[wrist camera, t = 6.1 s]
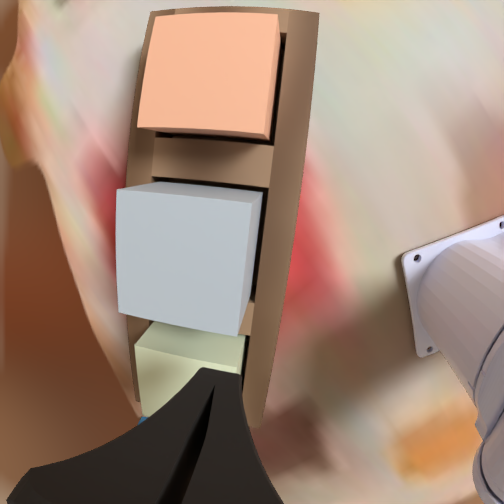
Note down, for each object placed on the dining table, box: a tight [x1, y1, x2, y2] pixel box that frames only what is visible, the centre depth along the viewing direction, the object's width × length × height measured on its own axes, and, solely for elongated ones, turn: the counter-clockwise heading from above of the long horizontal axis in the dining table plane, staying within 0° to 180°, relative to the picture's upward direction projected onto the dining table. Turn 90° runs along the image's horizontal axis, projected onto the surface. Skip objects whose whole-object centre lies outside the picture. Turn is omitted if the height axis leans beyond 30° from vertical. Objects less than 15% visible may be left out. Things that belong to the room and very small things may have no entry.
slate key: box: [116, 182, 263, 337], centre depth 14 cm, size 5×5×4 cm
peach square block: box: [137, 12, 281, 142], centre depth 13 cm, size 5×5×4 cm
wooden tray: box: [126, 6, 319, 428], centre depth 17 cm, size 9×25×3 cm, turn 174°
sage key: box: [134, 321, 247, 417], centre depth 18 cm, size 5×5×4 cm
